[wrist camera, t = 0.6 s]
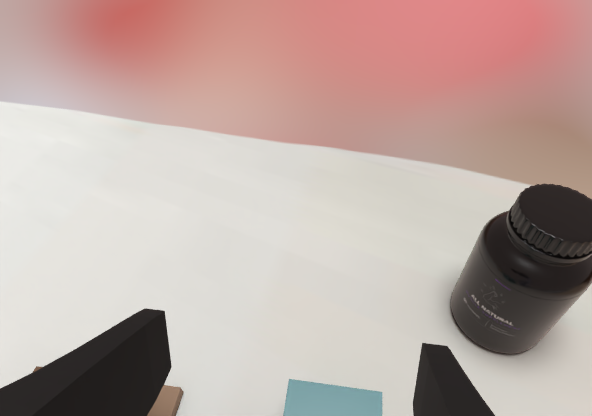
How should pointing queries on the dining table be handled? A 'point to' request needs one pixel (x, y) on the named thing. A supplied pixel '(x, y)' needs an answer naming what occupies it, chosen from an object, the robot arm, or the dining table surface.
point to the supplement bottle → (526, 269)
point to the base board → (163, 401)
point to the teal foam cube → (330, 400)
